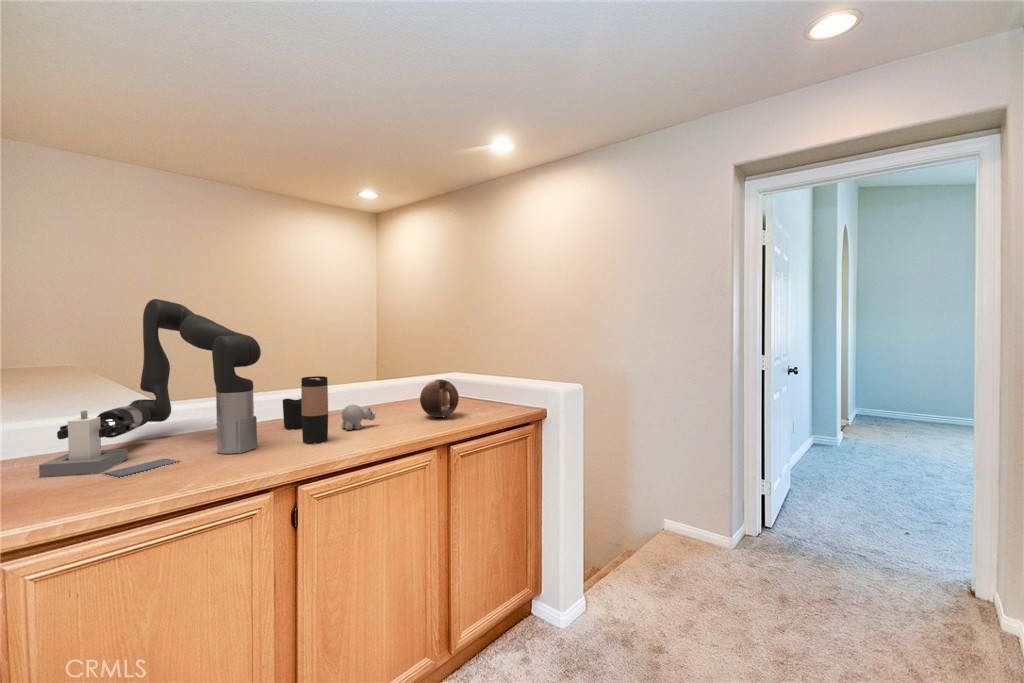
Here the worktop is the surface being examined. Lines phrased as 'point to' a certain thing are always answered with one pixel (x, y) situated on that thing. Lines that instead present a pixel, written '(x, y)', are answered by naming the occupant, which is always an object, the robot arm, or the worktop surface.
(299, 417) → the pen holder
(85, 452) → the white block with peg
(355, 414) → the toy rhinoceros
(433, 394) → the wooden sphere
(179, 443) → the worktop surface
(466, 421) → the worktop surface
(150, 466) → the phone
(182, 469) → the worktop surface
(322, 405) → the travel mug
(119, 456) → the block
